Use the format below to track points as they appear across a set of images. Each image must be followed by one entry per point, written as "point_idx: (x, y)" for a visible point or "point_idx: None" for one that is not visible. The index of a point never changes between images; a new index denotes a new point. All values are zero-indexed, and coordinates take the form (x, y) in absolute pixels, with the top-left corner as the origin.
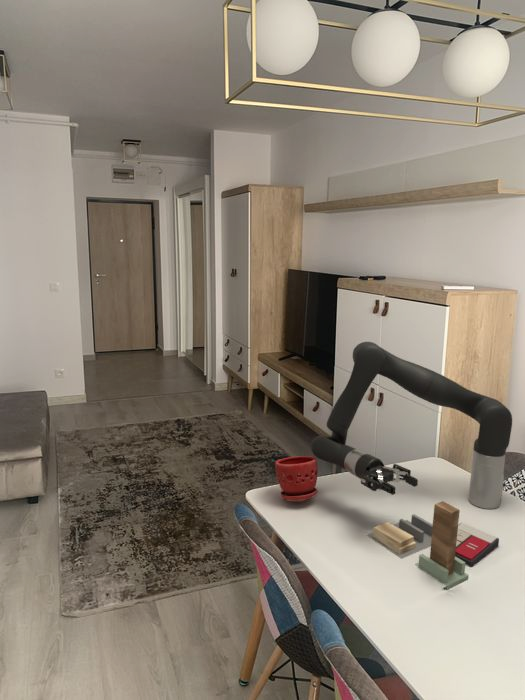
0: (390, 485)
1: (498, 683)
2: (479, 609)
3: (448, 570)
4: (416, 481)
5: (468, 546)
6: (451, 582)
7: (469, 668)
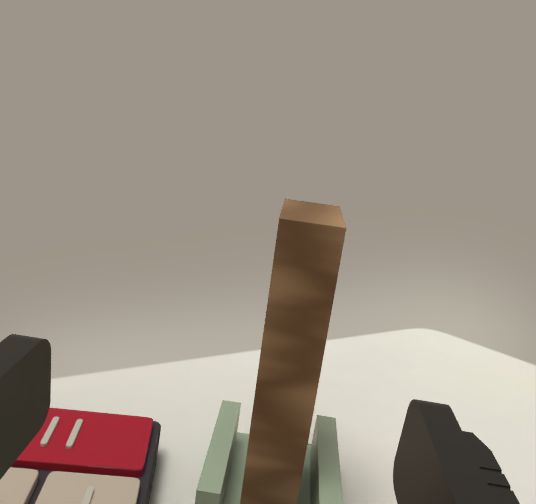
0: (453, 433)
1: (443, 341)
2: None
3: (318, 415)
4: (43, 351)
5: (75, 438)
6: None
7: (472, 366)
